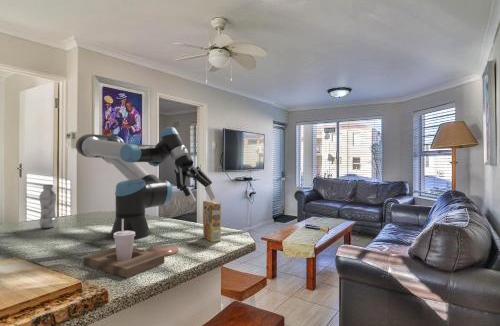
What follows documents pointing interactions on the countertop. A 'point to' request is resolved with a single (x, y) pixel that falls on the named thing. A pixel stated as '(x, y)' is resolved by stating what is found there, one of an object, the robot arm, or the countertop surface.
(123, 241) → the smoothie
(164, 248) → the glossy peach dome
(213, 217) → the candy box
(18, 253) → the countertop surface
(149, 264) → the frame
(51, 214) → the plastic bottle
